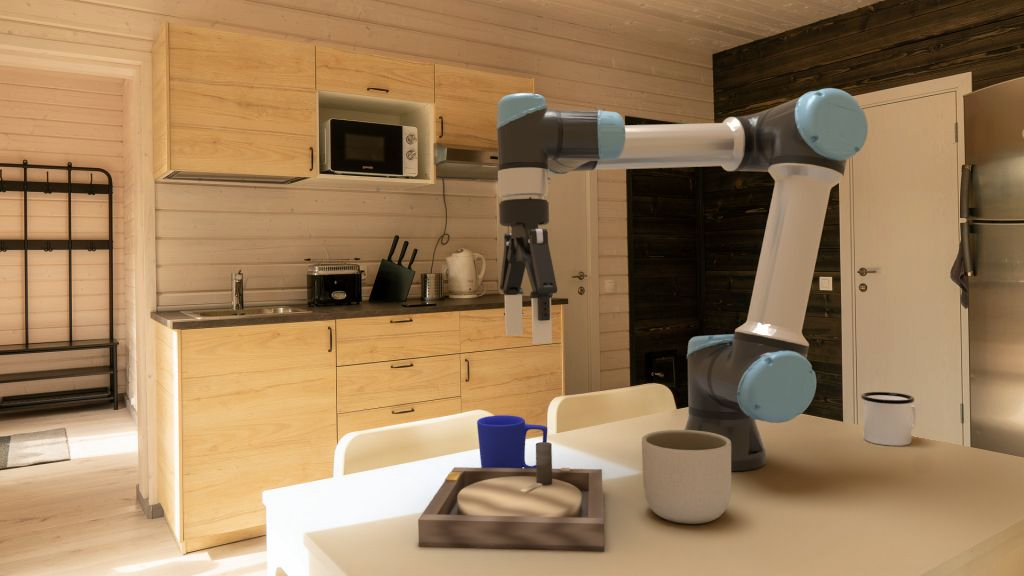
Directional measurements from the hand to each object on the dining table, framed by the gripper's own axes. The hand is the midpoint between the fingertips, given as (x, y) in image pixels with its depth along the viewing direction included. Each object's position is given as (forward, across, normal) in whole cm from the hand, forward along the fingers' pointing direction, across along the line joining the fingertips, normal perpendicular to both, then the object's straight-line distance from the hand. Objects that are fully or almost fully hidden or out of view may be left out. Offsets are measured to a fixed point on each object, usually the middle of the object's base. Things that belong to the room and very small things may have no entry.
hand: (527, 339), depth 108 cm
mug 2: (+26, +10, -79) cm, 84 cm away
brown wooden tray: (+25, -5, +4) cm, 26 cm away
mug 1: (+25, +13, -1) cm, 28 cm away
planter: (+26, -13, -19) cm, 34 cm away
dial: (+25, -5, +4) cm, 26 cm away
